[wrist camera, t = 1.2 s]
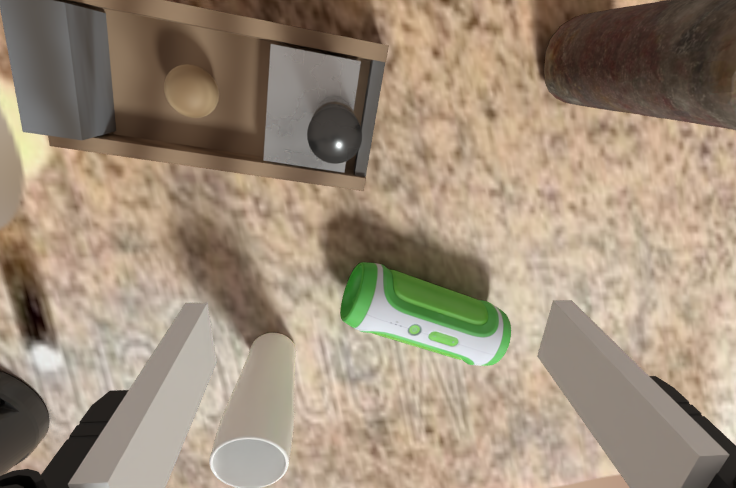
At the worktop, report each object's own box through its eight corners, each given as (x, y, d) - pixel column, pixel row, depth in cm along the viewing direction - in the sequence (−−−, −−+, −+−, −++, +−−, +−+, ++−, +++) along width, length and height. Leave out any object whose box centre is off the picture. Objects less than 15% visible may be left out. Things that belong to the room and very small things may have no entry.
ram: (267, 154, 35) (235, 196, 23) (275, 45, 31) (240, 30, 20) (344, 166, 36) (350, 212, 24) (360, 62, 32) (375, 57, 21)
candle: (606, 102, 37) (866, 131, 19) (532, 109, 37) (726, 145, 19) (621, 11, 34) (952, -58, 16) (541, 18, 34) (785, -45, 16)
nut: (175, 110, 33) (156, 115, 29) (174, 60, 31) (153, 59, 28) (223, 118, 34) (210, 124, 30) (224, 69, 32) (210, 69, 28)
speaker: (337, 298, 44) (338, 340, 37) (362, 245, 42) (367, 279, 35) (466, 340, 48) (488, 384, 41) (496, 294, 46) (525, 333, 39)
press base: (79, 138, 35) (26, 151, 29) (59, -17, 30) (-9, -39, 24) (360, 180, 38) (365, 199, 32) (382, 48, 34) (393, 43, 28)
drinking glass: (247, 321, 44) (209, 433, 31) (306, 328, 45) (294, 439, 32) (243, 366, 47) (206, 488, 33) (298, 372, 48) (284, 492, 34)
